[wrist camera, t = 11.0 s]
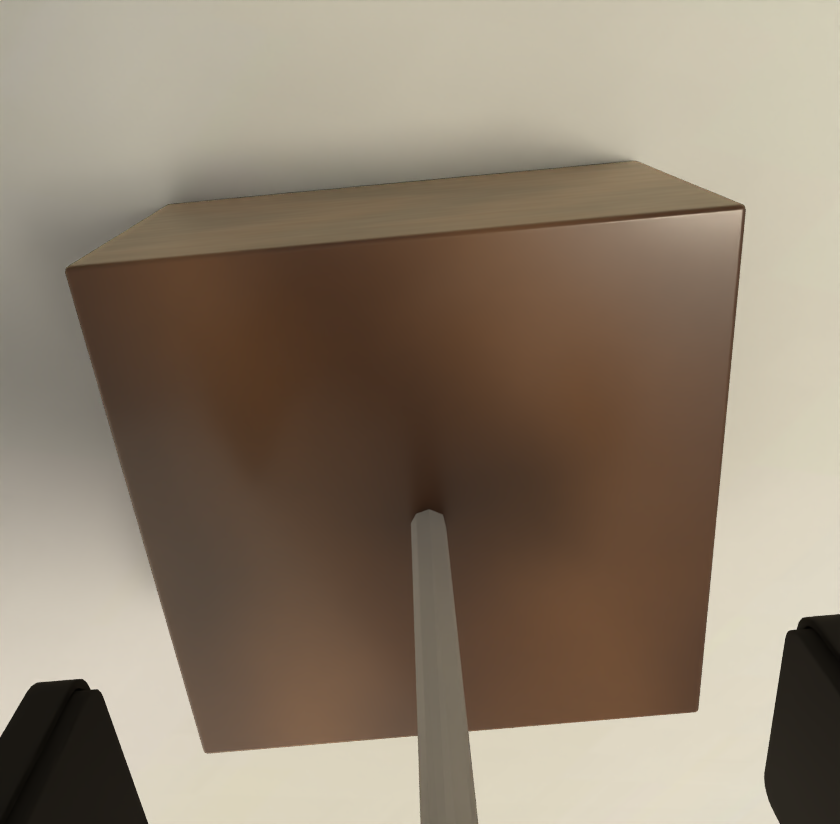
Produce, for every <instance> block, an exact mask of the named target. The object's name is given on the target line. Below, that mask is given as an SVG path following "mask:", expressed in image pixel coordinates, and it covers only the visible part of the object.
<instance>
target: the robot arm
mask: <svg viewBox="0 0 840 824" xmlns="http://www.w3.org/2000/svg"><path fill="white" fill-rule="evenodd" d="M764 781H765V788H766V793H767V796H768V799H769V802H770V804H771V807H772V809H773V811H774V813H775V815H776V817H777V819H778V821H779V823H780V824H840V614H837V615H825V616H813V617H805V618H802V619H801V620H800V621H799V624H798V627H797V630H790V631H789V632H788V633H787V635H786V638H785V644H784V650H783V657H782V663H781V670H780V676H779V683H778V689H777V696H776V702H775V708H774V715H773V721H772V728H771V734H770V741H769V747H768V754H767V760H766V767H765V773H764ZM0 824H148V822H147V819H146V816H145V813H144V811H143V808H142V805H141V802H140V799H139V796H138V794H137V791H136V788H135V785H134V782H133V780H132V777H131V774H130V771H129V768H128V766H127V763H126V760H125V757H124V754H123V751H122V749H121V746H120V743H119V740H118V737H117V735H116V732H115V729H114V726H113V723H112V721H111V718H110V715H109V712H108V709H107V706H106V704H105V701H104V698H103V696H102V694H101V692H100V691H99V690H98V689H96V690H90V688H89V686H88V684H87V682H86V681H84V680H83V679H74V680H63V681H51V682H39V683H36V684H34V685H33V686H31V688H30V689H29V690H28V691H27V693H26V694H25V696H24V698H23V700H22V701H21V703H20V705H19V706H18V708H17V710H16V711H15V713H14V715H13V717H12V718H11V720H10V722H9V723H8V725H7V727H6V729H5V730H4V732H3V734H2V735H1V737H0Z"/></svg>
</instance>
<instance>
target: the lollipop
mask: <svg viewBox="0 0 840 824" xmlns="http://www.w3.org/2000/svg"><path fill="white" fill-rule="evenodd" d="M411 541H412V571H413V602H414V633H415V664H416V695H417V725H418V756H419V787H420V818H421V824H478V818H477V808H476V799H475V790H474V781H473V771H472V762H471V753H470V744H469V734H468V725H467V716H466V707H465V697H464V688H463V679H462V669H461V660H460V651H459V642H458V632H457V623H456V614H455V605H454V595H453V586H452V577H451V568H450V558H449V549H448V540H447V531H446V525H445V521H444V517H443V514H440V513H437V512H435V511H432V510H430V509H428V510H425V511H423V512H420V513H417V514H416V515H415V517H414V519H413V520H412V522H411Z"/></svg>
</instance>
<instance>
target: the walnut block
mask: <svg viewBox="0 0 840 824" xmlns="http://www.w3.org/2000/svg"><path fill="white" fill-rule="evenodd" d="M745 212H746V209H745V206H744V205H743V204H740V203H738V202H735V201H733V200H730V199H728V198H726V197H723V196H721V195H718V194H716V193H713V192H711V191H708V190H706V189H704V188H701V187H699V186H696V185H694V184H691V183H689V182H687V181H684V180H682V179H679V178H677V177H674V176H672V175H669V174H667V173H665V172H662V171H660V170H657V169H655V168H652V167H650V166H648V165H645V164H643V163H640V162H638V161H628V162H618V163H607V164H596V165H585V166H575V167H564V168H553V169H542V170H532V171H521V172H510V173H499V174H489V175H478V176H467V177H457V178H446V179H435V180H424V181H414V182H403V183H392V184H381V185H371V186H360V187H349V188H338V189H328V190H317V191H306V192H295V193H285V194H274V195H263V196H252V197H242V198H231V199H220V200H209V201H199V202H188V203H177V204H168V205H166V206H165V207H163V208H162V209H160V210H158V211H157V212H155V213H154V214H152V215H150V216H149V217H147V218H145V219H144V220H142V221H141V222H139V223H137V224H136V225H134V226H133V227H131V228H129V229H128V230H126V231H124V232H123V233H121V234H120V235H118V236H116V237H115V238H113V239H112V240H110V241H108V242H107V243H105V244H103V245H102V246H100V247H99V248H97V249H95V250H94V251H92V252H91V253H89V254H87V255H86V256H84V257H82V258H81V259H79V260H78V261H76V262H74V263H73V264H71V265H70V266H68V267H66V269H65V274H66V277H67V281H68V284H69V287H70V291H71V294H72V298H73V301H74V305H75V308H76V312H77V315H78V319H79V322H80V325H81V329H82V332H83V336H84V339H85V343H86V346H87V350H88V353H89V356H90V360H91V363H92V367H93V370H94V374H95V377H96V381H97V384H98V388H99V391H100V394H101V398H102V401H103V405H104V408H105V412H106V415H107V419H108V422H109V426H110V429H111V432H112V436H113V439H114V443H115V446H116V450H117V453H118V457H119V460H120V463H121V467H122V470H123V474H124V477H125V481H126V484H127V488H128V491H129V495H130V498H131V501H132V505H133V508H134V512H135V515H136V519H137V522H138V526H139V529H140V533H141V536H142V539H143V543H144V546H145V550H146V553H147V557H148V560H149V564H150V567H151V570H152V574H153V577H154V581H155V584H156V588H157V591H158V595H159V598H160V602H161V605H162V608H163V612H164V615H165V619H166V622H167V626H168V629H169V633H170V636H171V640H172V643H173V646H174V650H175V653H176V657H177V660H178V664H179V667H180V671H181V674H182V677H183V681H184V684H185V688H186V691H187V695H188V698H189V702H190V705H191V709H192V712H193V715H194V719H195V722H196V726H197V729H198V733H199V736H200V740H201V743H202V747H203V750H204V752H205V753H207V754H208V753H220V752H232V751H244V750H255V749H267V748H279V747H291V746H302V745H314V744H326V743H338V742H349V741H361V740H373V739H385V738H397V737H408V736H418V725H417V695H416V664H415V633H414V602H413V571H412V541H411V522H412V520H413V519H414V517H415V515H416V514H417V513H420V512H423V511H425V510H428V509H430V510H432V511H435V512H437V513H440V514H443V517H444V521H445V525H446V531H447V540H448V549H449V558H450V568H451V577H452V586H453V595H454V605H455V614H456V623H457V632H458V642H459V651H460V660H461V669H462V679H463V688H464V697H465V707H466V716H467V725H468V731H479V730H491V729H502V728H514V727H526V726H538V725H549V724H561V723H573V722H585V721H596V720H608V719H620V718H632V717H644V716H655V715H667V714H679V713H691V712H696V711H698V706H699V696H700V685H701V675H702V664H703V654H704V643H705V633H706V622H707V612H708V601H709V591H710V580H711V570H712V559H713V549H714V538H715V528H716V517H717V507H718V496H719V486H720V475H721V464H722V454H723V443H724V433H725V422H726V412H727V401H728V391H729V380H730V370H731V359H732V349H733V338H734V328H735V317H736V307H737V296H738V286H739V275H740V265H741V254H742V244H743V233H744V223H745Z"/></svg>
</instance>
